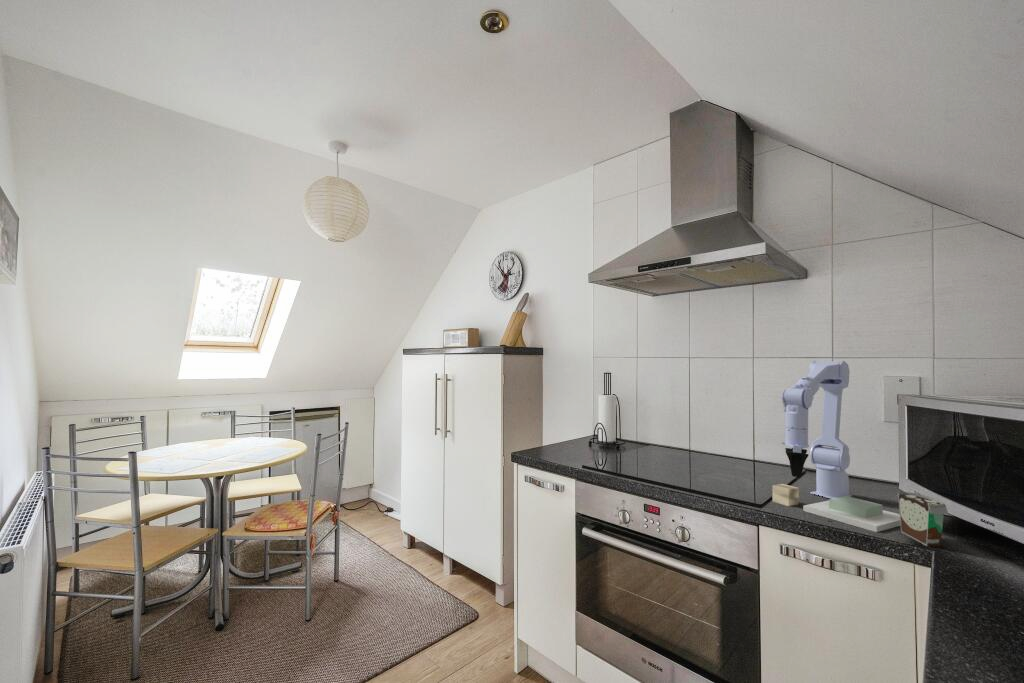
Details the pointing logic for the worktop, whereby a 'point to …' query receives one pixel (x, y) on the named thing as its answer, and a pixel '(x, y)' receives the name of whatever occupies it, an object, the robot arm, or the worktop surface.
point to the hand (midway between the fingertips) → (796, 474)
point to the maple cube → (785, 494)
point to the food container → (921, 517)
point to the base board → (855, 520)
